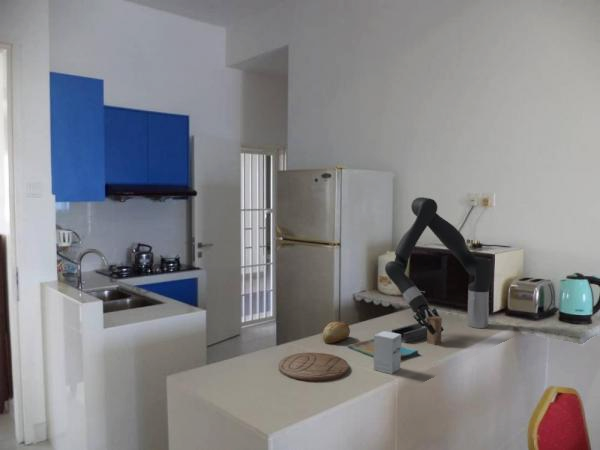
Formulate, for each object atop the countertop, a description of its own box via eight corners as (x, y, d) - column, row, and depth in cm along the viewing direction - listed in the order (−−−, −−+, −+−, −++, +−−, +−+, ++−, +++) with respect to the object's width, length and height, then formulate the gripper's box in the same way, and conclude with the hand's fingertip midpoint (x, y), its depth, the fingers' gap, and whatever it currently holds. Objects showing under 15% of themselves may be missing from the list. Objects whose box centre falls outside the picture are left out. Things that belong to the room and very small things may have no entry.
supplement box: (391, 374, 162) (392, 338, 161) (372, 369, 166) (373, 334, 166) (401, 368, 168) (401, 333, 167) (382, 364, 172) (383, 330, 171)
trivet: (354, 361, 176) (354, 356, 176) (340, 386, 152) (340, 380, 152) (290, 354, 183) (291, 349, 183) (268, 377, 159) (268, 372, 159)
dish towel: (389, 365, 172) (390, 358, 172) (346, 349, 191) (346, 343, 191) (420, 356, 182) (420, 350, 182) (376, 341, 201) (376, 336, 201)
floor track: (419, 331, 216) (419, 322, 216) (433, 334, 210) (433, 326, 210) (391, 338, 204) (391, 329, 203) (405, 343, 198) (405, 333, 198)
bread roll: (355, 338, 204) (356, 320, 204) (336, 346, 192) (336, 327, 192) (337, 334, 210) (337, 317, 210) (317, 342, 198) (317, 323, 198)
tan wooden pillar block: (434, 340, 201) (434, 315, 201) (441, 342, 199) (441, 317, 198) (427, 343, 198) (427, 317, 198) (434, 345, 196) (434, 319, 195)
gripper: (410, 296, 199) (433, 330, 190) (430, 292, 208) (453, 324, 199) (399, 306, 203) (422, 340, 194) (420, 302, 212) (442, 334, 203)
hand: (438, 332), depth 197 cm, fingers closed on tan wooden pillar block, 5 cm apart
